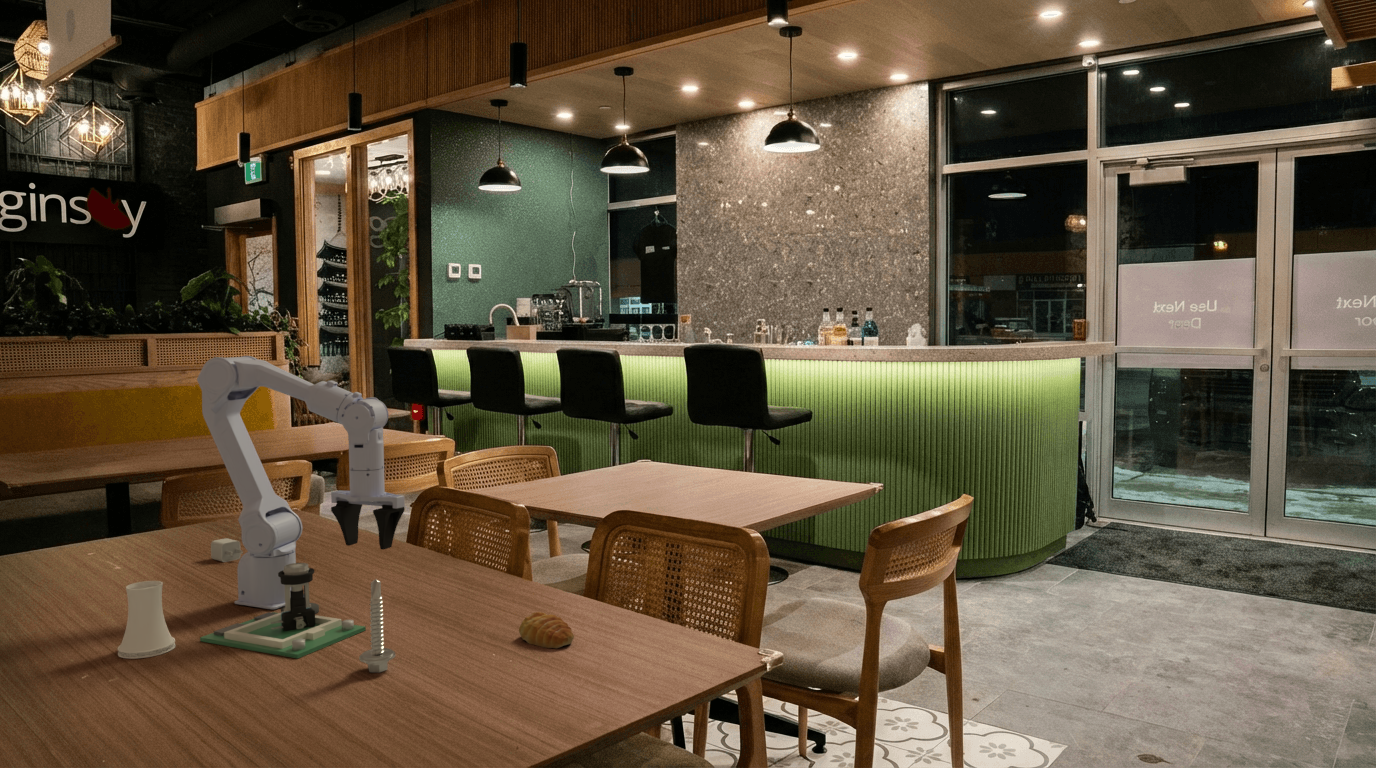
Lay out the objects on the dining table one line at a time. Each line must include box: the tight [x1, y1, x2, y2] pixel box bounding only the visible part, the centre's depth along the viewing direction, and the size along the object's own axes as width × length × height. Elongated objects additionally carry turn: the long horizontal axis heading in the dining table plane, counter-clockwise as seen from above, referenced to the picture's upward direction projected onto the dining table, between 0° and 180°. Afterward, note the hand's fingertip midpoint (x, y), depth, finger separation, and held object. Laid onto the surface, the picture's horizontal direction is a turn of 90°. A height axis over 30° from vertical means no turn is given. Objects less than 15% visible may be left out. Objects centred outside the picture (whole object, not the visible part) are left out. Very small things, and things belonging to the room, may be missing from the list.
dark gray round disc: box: [280, 602, 320, 615], centre depth 159 cm, size 6×6×1 cm
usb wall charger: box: [210, 538, 244, 563], centre depth 196 cm, size 4×7×4 cm, turn 54°
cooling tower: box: [117, 580, 176, 660], centre depth 141 cm, size 8×8×10 cm
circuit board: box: [199, 611, 367, 659], centre depth 147 cm, size 20×14×2 cm
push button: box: [271, 562, 316, 631], centre depth 149 cm, size 7×5×10 cm
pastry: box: [518, 611, 575, 649], centre depth 145 cm, size 9×7×4 cm
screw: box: [358, 578, 396, 674], centre depth 132 cm, size 13×5×5 cm
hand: (368, 546), depth 163 cm, fingers open, 7 cm apart
